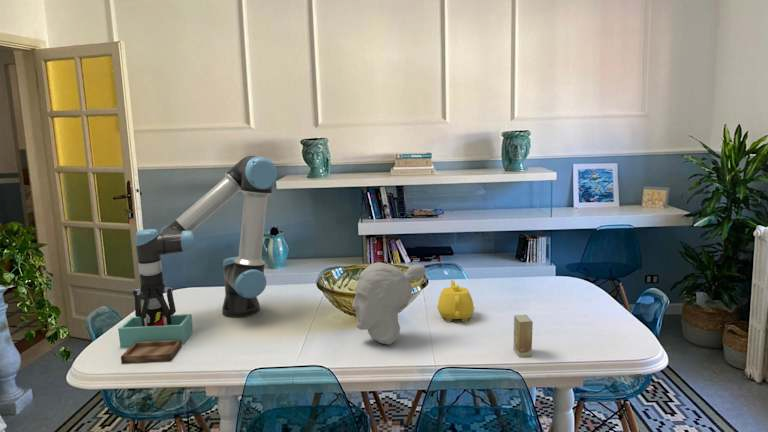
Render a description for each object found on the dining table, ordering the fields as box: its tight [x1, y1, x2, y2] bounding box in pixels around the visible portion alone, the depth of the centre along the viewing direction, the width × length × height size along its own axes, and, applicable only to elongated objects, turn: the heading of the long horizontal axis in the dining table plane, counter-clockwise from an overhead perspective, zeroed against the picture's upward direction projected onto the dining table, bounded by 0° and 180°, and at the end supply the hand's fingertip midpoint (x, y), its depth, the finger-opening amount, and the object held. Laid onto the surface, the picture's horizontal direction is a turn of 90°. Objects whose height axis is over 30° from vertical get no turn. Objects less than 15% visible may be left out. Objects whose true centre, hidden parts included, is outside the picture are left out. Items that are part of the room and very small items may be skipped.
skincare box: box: [513, 314, 534, 358], centre depth 183 cm, size 6×4×12 cm
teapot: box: [437, 279, 475, 323], centre depth 218 cm, size 14×20×13 cm
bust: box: [351, 261, 426, 345], centre depth 196 cm, size 15×26×28 cm, turn 99°
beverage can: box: [146, 304, 165, 326], centre depth 204 cm, size 6×6×12 cm
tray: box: [120, 340, 183, 364], centre depth 191 cm, size 16×12×2 cm
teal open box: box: [118, 313, 194, 348], centre depth 204 cm, size 22×12×7 cm, turn 93°
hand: (158, 333), depth 205 cm, fingers closed on beverage can, 6 cm apart
